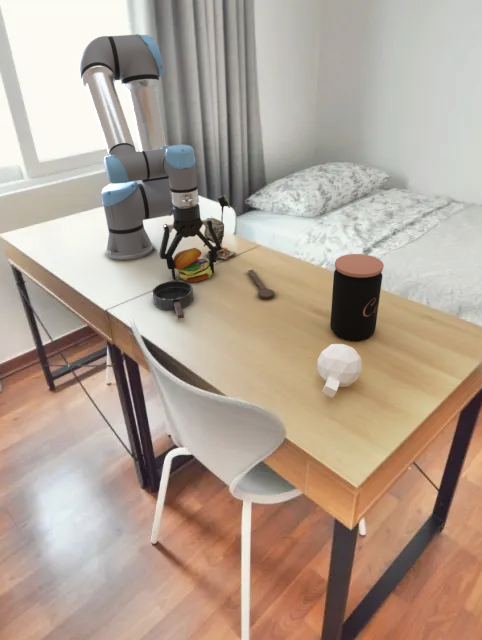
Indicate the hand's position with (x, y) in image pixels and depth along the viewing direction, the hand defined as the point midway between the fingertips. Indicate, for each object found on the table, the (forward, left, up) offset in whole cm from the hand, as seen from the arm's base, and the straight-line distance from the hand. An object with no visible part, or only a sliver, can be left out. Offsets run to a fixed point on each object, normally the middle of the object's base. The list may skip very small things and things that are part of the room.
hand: (193, 275), depth 141 cm
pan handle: (+22, -8, -1) cm, 24 cm away
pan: (+13, -8, -1) cm, 15 cm away
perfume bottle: (+60, +18, -1) cm, 63 cm away
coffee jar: (+43, +31, -1) cm, 53 cm away
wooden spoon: (+13, +17, -1) cm, 21 cm away
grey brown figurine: (-13, +11, -1) cm, 17 cm away
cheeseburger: (0, 0, -1) cm, 1 cm away
